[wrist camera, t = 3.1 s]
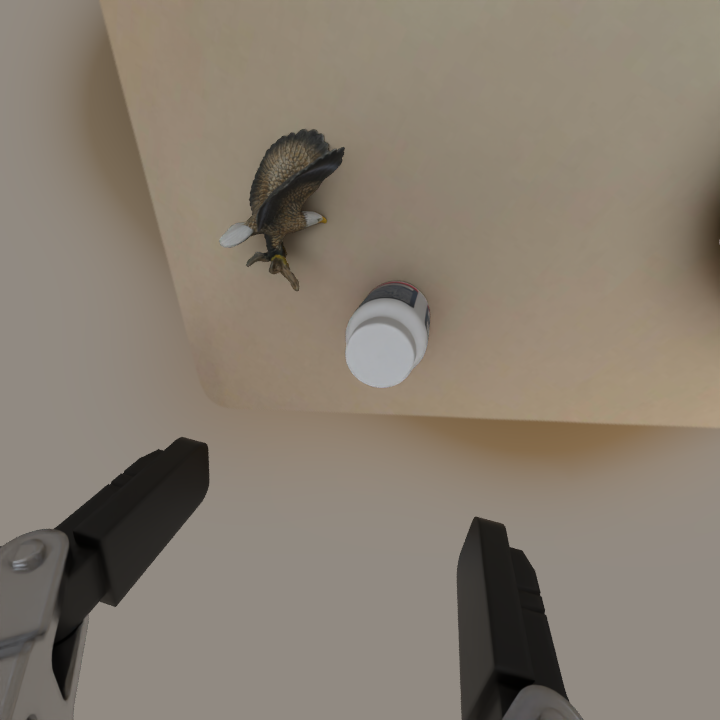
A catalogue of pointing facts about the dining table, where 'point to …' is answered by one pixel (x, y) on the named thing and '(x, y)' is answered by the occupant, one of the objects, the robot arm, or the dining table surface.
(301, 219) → the eagle figurine
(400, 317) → the pill bottle
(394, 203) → the dining table surface
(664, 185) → the dining table surface
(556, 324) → the dining table surface
